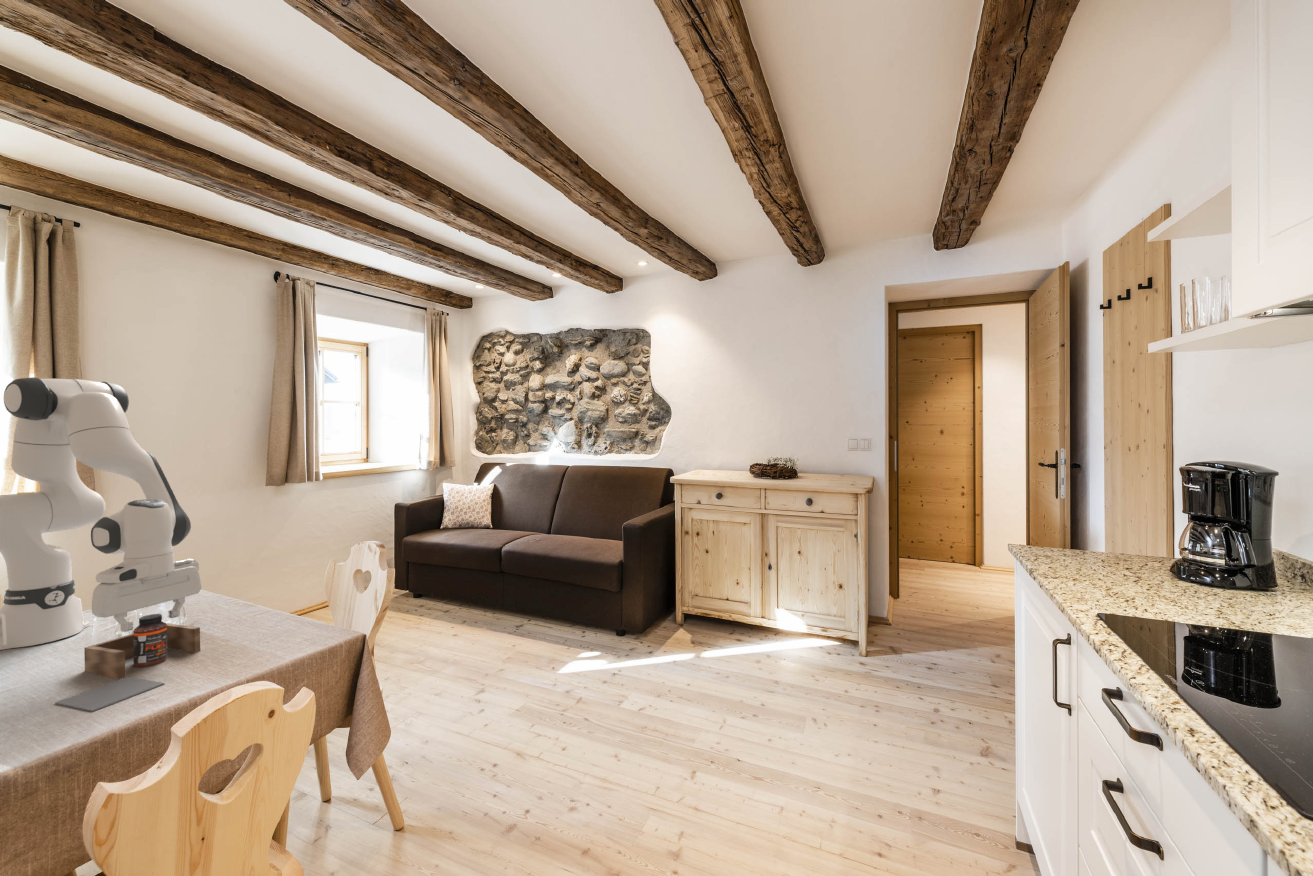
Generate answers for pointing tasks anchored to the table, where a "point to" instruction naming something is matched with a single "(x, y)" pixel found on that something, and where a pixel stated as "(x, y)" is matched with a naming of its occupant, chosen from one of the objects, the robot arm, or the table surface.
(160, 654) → the supplement bottle
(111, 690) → the mat
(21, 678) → the table surface
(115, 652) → the holder
